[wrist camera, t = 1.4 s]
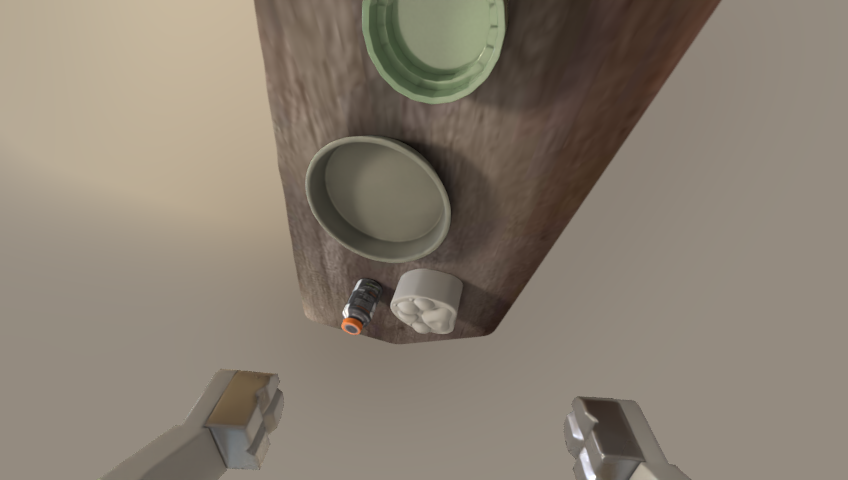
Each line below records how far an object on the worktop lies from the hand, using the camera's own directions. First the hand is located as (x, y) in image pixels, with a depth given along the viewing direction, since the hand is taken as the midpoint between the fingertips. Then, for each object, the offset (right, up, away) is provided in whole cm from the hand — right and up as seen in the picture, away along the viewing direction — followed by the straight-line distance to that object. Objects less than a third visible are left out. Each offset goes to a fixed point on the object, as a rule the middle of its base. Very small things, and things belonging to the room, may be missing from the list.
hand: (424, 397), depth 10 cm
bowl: (+2, +31, +33) cm, 45 cm away
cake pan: (-7, +12, +53) cm, 54 cm away
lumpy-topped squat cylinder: (+1, -5, +65) cm, 66 cm away
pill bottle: (-12, -6, +70) cm, 71 cm away
